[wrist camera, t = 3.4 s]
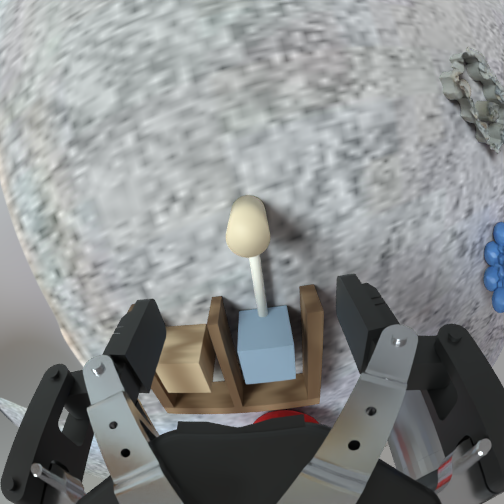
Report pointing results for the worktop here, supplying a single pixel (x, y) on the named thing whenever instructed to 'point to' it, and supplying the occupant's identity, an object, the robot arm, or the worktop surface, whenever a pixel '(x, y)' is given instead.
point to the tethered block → (259, 301)
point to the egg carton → (496, 107)
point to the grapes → (495, 267)
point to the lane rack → (234, 387)
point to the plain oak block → (187, 360)
